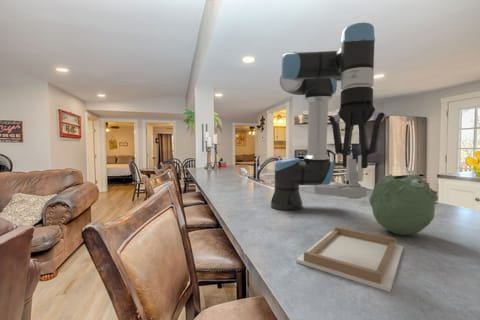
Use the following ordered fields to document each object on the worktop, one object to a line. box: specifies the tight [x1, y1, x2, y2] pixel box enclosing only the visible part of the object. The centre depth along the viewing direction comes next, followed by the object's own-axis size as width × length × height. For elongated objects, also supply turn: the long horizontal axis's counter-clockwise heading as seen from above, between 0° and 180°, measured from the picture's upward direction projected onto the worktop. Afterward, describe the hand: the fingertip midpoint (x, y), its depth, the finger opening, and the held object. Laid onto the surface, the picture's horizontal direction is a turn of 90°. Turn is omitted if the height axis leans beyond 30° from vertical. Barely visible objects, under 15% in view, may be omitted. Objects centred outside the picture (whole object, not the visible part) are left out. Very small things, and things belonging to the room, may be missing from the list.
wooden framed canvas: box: [295, 226, 404, 293], centre depth 64 cm, size 26×20×3 cm
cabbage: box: [369, 173, 439, 236], centre depth 79 cm, size 16×19×20 cm
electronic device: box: [313, 158, 368, 200], centre depth 65 cm, size 5×10×15 cm
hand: (354, 180), depth 63 cm, fingers closed on electronic device, 2 cm apart
